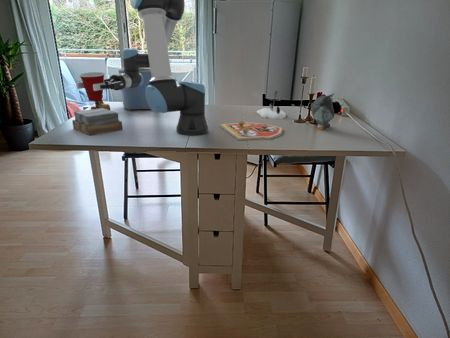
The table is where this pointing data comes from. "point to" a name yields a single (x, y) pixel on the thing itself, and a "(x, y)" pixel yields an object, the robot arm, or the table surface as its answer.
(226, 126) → the knob puzzle
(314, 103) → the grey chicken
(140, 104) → the planter
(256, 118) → the table surface
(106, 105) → the orange brown statuette
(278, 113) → the figurine
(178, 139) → the table surface
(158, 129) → the table surface
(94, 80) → the plastic cup
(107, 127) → the stack of books
